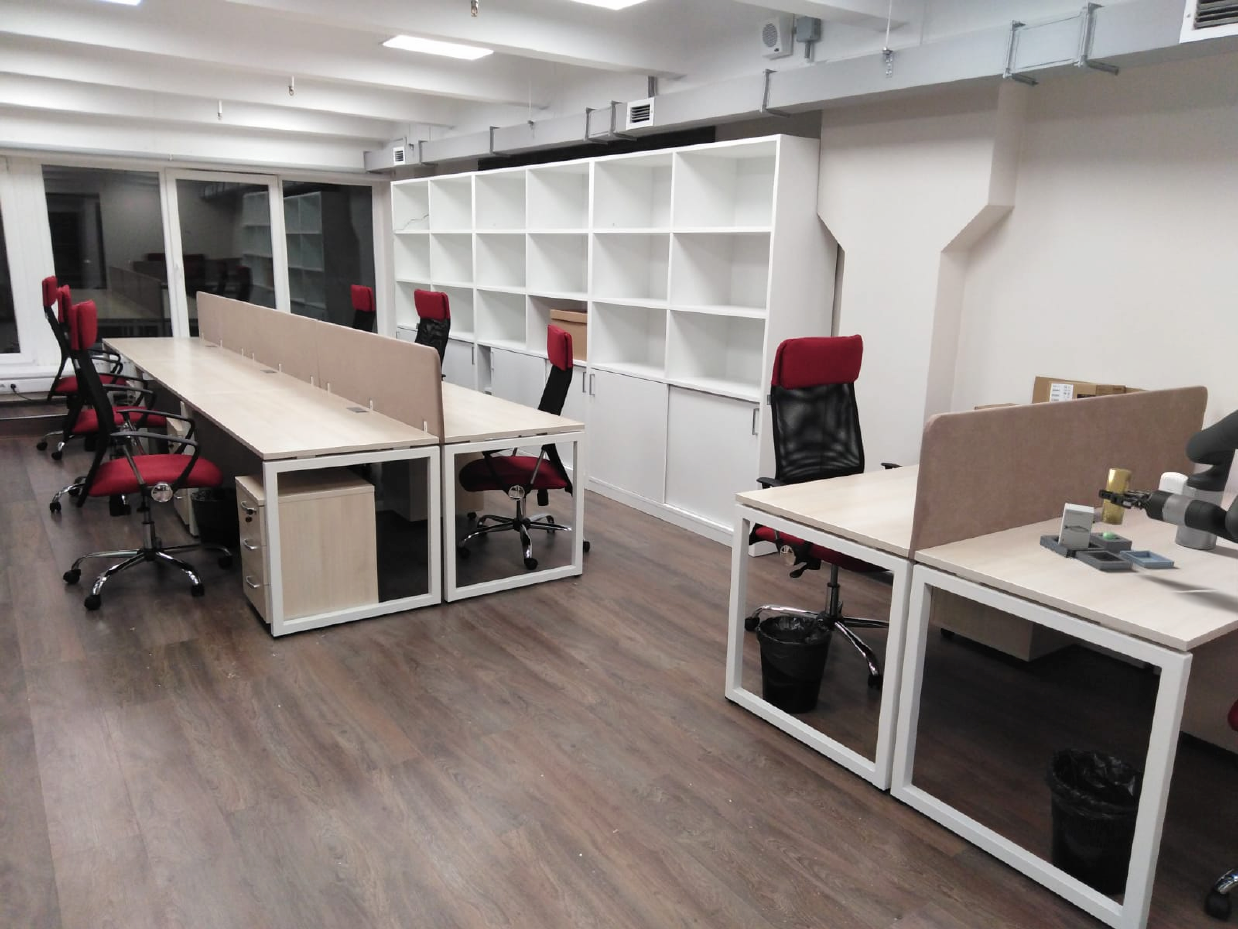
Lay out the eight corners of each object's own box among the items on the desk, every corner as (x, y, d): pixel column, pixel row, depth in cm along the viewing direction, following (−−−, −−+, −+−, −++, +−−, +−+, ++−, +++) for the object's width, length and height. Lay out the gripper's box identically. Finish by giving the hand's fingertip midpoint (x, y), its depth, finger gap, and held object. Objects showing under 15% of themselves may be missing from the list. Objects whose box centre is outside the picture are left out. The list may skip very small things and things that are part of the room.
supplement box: (1057, 551, 240) (1064, 508, 237) (1057, 544, 247) (1065, 502, 244) (1086, 557, 237) (1094, 512, 234) (1086, 549, 244) (1094, 506, 241)
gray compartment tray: (1076, 543, 249) (1078, 534, 248) (1135, 571, 227) (1137, 562, 227) (1038, 543, 247) (1039, 535, 246) (1094, 572, 225) (1095, 563, 224)
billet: (1112, 519, 230) (1121, 468, 227) (1126, 524, 226) (1135, 472, 222) (1096, 519, 229) (1104, 468, 226) (1109, 525, 225) (1118, 472, 221)
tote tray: (1147, 557, 239) (1148, 550, 239) (1173, 568, 230) (1174, 561, 230) (1118, 557, 237) (1120, 551, 237) (1143, 569, 229) (1144, 562, 228)
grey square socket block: (1109, 543, 250) (1111, 532, 249) (1130, 553, 242) (1132, 541, 241) (1085, 544, 248) (1087, 532, 247) (1104, 553, 241) (1107, 541, 240)
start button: (1109, 541, 247) (1111, 531, 246) (1117, 545, 243) (1119, 535, 243) (1098, 542, 246) (1100, 532, 245) (1107, 546, 243) (1109, 535, 242)
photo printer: (1153, 504, 296) (1160, 469, 293) (1163, 504, 297) (1170, 469, 294) (1178, 513, 286) (1185, 477, 283) (1189, 513, 287) (1196, 477, 284)
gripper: (1191, 491, 217) (1123, 475, 231) (1159, 496, 209) (1092, 480, 224) (1185, 519, 218) (1119, 502, 232) (1154, 526, 211) (1087, 508, 225)
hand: (1106, 492), depth 228 cm, fingers closed on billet, 5 cm apart
